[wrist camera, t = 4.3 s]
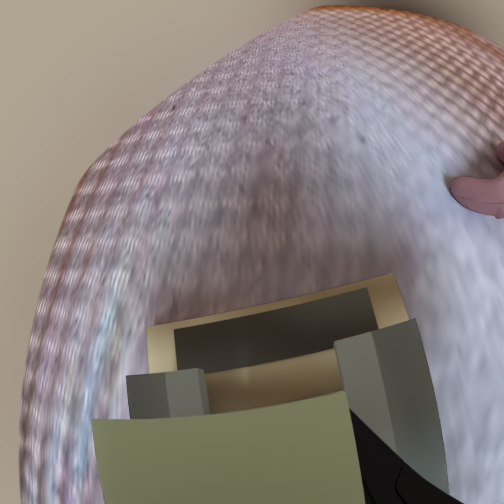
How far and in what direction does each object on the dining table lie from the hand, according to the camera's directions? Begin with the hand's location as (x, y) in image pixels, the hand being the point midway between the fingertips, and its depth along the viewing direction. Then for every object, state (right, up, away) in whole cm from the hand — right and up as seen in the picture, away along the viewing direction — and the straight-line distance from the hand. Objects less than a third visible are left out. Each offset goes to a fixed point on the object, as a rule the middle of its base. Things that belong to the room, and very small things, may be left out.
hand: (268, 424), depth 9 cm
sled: (+2, -7, +5) cm, 8 cm away
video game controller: (+20, +10, +11) cm, 25 cm away
